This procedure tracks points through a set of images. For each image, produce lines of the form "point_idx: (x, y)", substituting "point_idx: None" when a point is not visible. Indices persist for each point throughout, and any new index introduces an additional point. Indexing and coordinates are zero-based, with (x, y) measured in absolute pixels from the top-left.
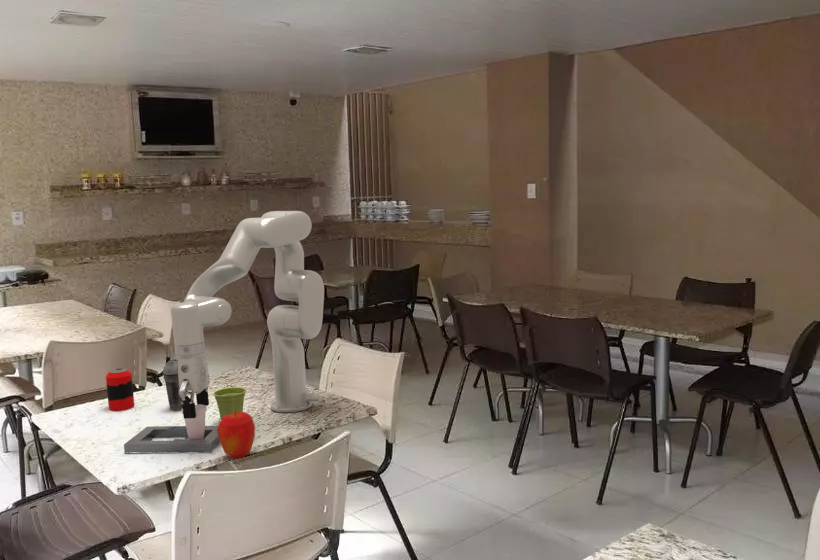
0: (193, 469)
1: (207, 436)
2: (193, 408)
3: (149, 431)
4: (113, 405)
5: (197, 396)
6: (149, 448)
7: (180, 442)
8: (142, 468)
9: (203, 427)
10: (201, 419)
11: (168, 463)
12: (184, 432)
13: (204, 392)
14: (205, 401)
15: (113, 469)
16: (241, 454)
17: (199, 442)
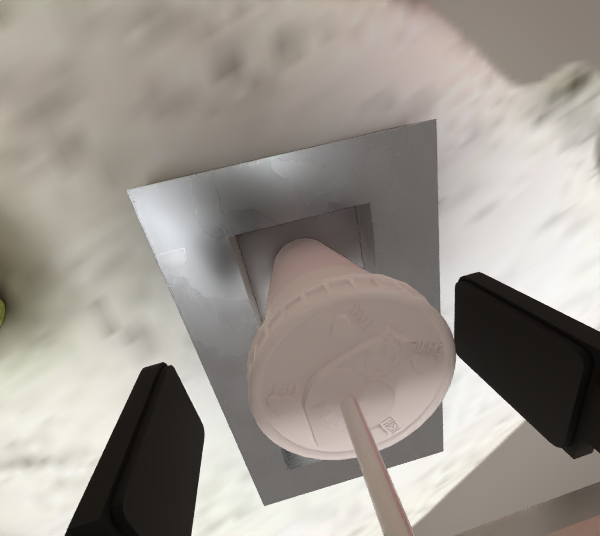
0: (595, 92)
1: (335, 204)
2: (553, 320)
3: (313, 467)
4: None
5: (187, 519)
6: None
7: (423, 285)
8: (550, 296)
9: (320, 252)
10: (360, 269)
11: (518, 240)
12: None
13: (133, 526)
14: (167, 407)
15: None
16: None
17: (423, 193)
